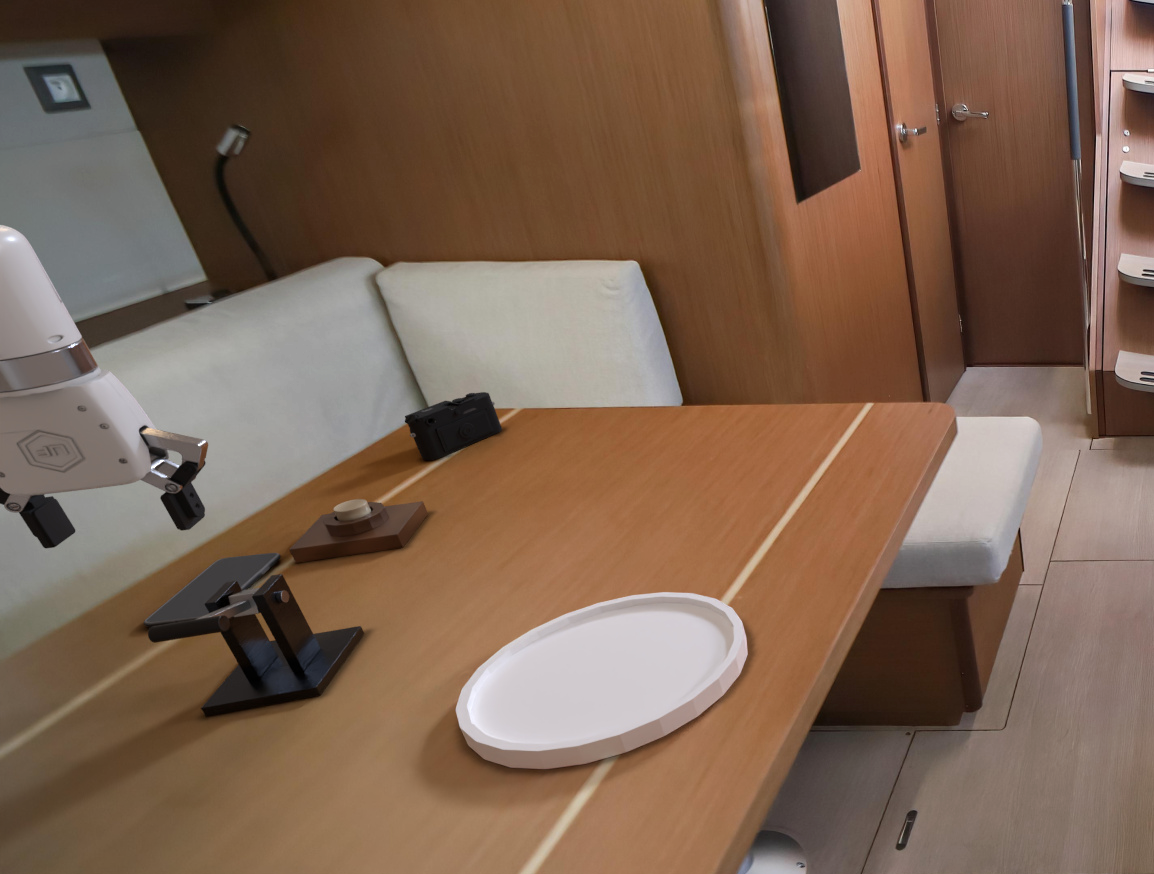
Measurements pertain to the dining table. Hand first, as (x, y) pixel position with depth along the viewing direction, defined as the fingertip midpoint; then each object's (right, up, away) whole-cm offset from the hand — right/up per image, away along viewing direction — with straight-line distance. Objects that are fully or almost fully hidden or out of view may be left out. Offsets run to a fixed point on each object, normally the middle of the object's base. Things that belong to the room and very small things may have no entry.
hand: (128, 532), depth 92 cm
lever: (-1, -11, +9) cm, 14 cm away
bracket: (-3, -18, +18) cm, 26 cm away
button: (-18, -1, +43) cm, 46 cm away
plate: (+35, -19, +18) cm, 44 cm away
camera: (-28, +9, +72) cm, 77 cm away
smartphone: (-26, -11, +32) cm, 42 cm away
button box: (-18, -5, +44) cm, 48 cm away
